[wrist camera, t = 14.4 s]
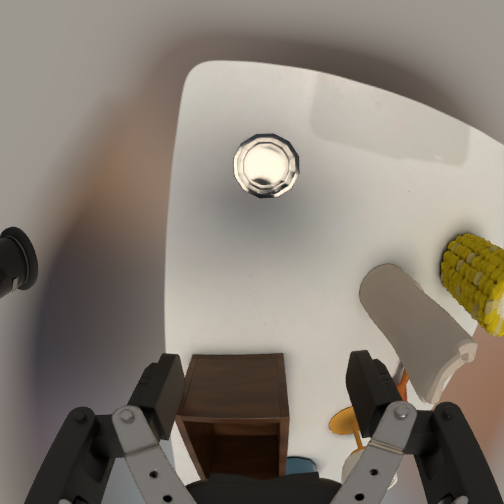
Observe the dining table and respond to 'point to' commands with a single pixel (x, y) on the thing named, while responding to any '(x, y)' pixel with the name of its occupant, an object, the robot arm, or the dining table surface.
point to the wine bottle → (299, 466)
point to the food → (476, 280)
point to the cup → (347, 425)
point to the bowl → (266, 165)
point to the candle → (416, 329)
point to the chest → (236, 415)
